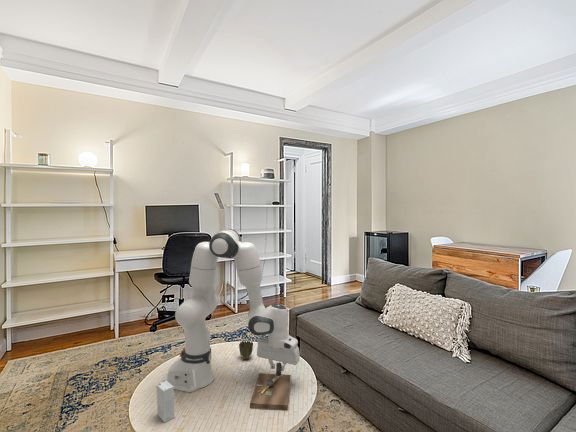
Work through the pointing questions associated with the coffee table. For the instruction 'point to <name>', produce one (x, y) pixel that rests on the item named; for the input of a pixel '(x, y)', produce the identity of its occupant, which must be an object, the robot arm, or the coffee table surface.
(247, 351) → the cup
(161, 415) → the skincare box
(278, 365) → the tuning crank
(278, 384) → the board
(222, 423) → the coffee table surface
